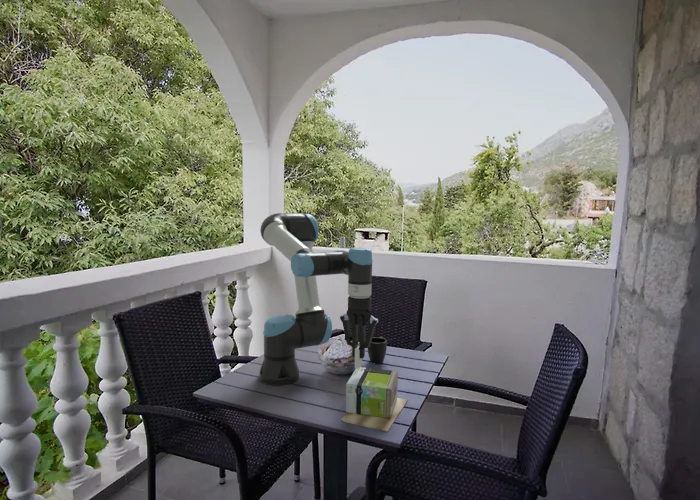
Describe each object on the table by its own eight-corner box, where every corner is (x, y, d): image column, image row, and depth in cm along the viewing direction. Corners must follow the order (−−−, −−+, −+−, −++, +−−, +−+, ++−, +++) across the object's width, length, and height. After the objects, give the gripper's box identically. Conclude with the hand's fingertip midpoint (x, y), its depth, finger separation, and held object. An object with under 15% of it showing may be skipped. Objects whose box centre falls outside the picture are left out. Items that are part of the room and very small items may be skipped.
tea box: (345, 413, 132) (391, 419, 128) (345, 383, 131) (391, 388, 127) (356, 393, 147) (398, 398, 143) (356, 365, 146) (398, 370, 142)
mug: (391, 357, 184) (391, 336, 183) (382, 366, 173) (383, 344, 172) (373, 354, 187) (373, 333, 186) (364, 363, 176) (364, 341, 175)
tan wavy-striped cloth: (340, 420, 128) (340, 419, 128) (366, 392, 148) (366, 391, 148) (387, 431, 122) (387, 430, 122) (407, 400, 142) (407, 399, 142)
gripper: (336, 296, 133) (335, 367, 135) (374, 300, 128) (373, 374, 130) (345, 292, 140) (344, 360, 142) (382, 295, 135) (380, 366, 137)
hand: (358, 367), depth 136 cm, fingers closed
